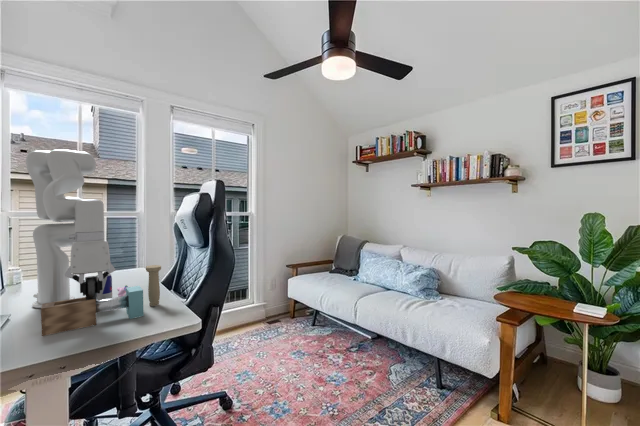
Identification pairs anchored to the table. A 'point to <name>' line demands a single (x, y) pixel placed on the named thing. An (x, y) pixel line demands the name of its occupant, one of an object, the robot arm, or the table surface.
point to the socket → (135, 302)
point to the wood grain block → (67, 315)
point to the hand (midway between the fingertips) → (91, 293)
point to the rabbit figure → (122, 291)
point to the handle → (153, 284)
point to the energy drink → (105, 288)
